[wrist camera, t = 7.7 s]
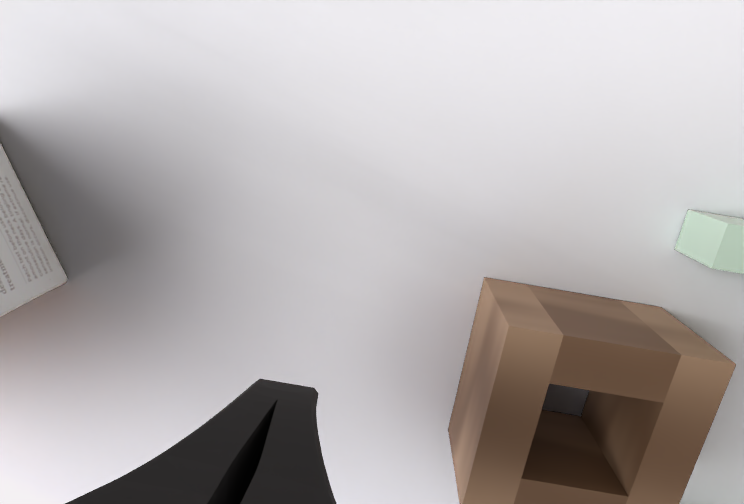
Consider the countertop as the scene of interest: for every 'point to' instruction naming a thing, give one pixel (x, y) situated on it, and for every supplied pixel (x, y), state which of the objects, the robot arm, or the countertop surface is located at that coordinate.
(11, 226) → the small box
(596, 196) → the countertop surface
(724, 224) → the green u-shaped bracket
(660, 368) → the walnut block
